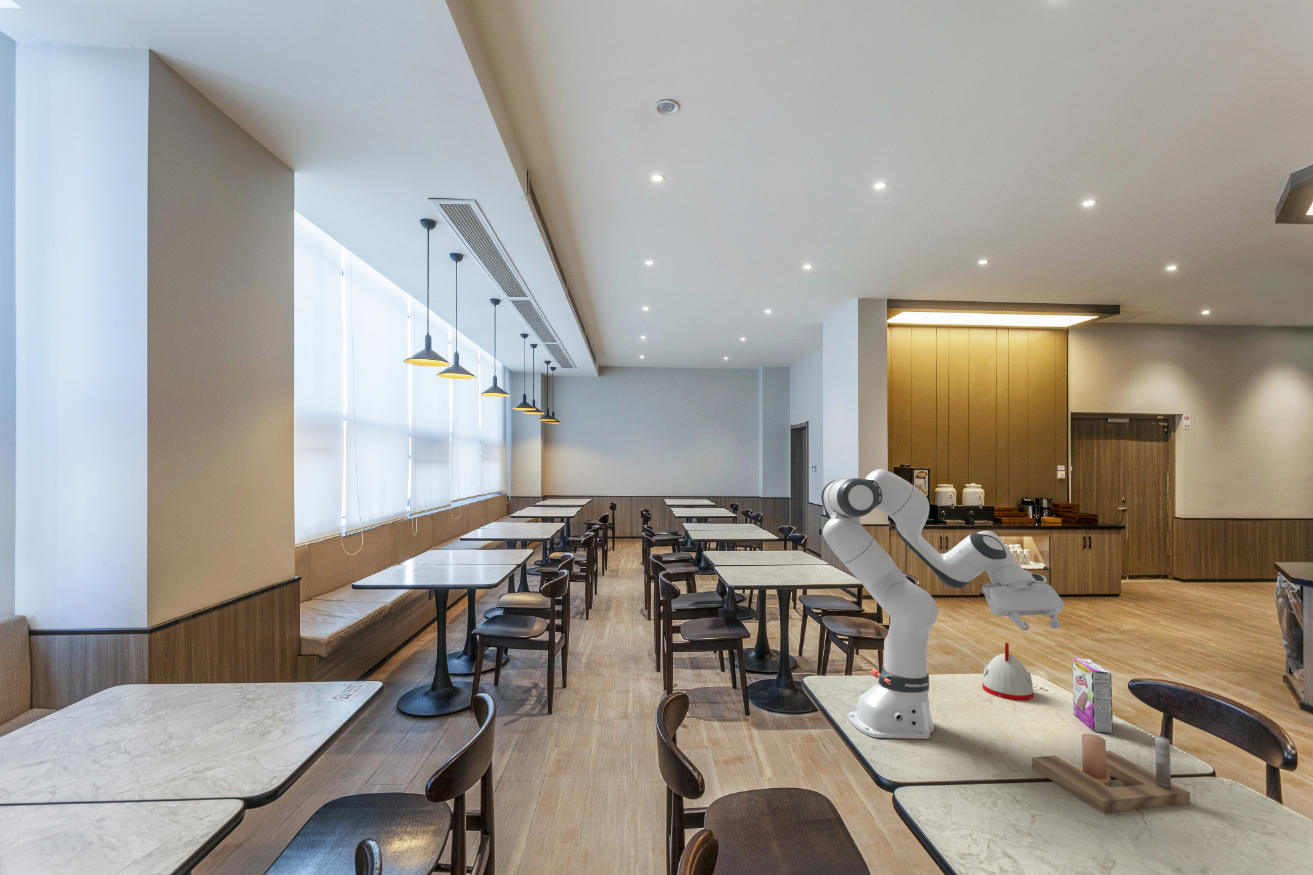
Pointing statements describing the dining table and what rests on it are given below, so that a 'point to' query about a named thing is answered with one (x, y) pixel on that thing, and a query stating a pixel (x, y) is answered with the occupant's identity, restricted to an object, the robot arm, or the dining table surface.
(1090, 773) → the tan cylinder
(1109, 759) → the wooden frame with post
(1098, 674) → the candy bar box
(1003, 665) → the kitchen timer
